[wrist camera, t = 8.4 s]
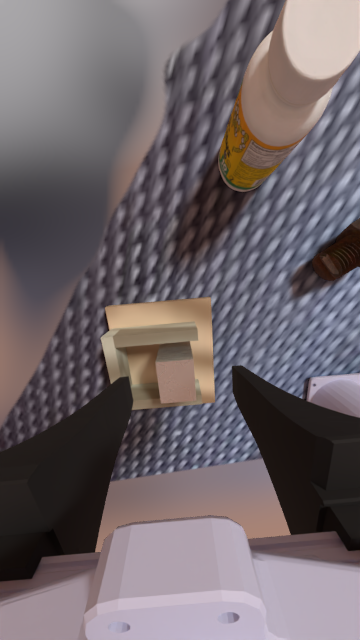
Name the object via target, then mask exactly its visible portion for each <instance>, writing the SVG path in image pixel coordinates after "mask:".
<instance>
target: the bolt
mask: <svg viewBox="0 0 360 640" xmlns="http://www.w3.org/2000/svg"><path fill="white" fill-rule="evenodd" d="M312 265H313V268H314V271H315V272H316V273H317V274H318V275H319V276H320V277H321V278H322V279H324V280H329V281H334V280H336V279H338V278H340V277H341V276H342V275H344V274H346V273H348V272H349V271H351V270H352V269H354V268H356V267H360V218H359V219H358V220H356V221H355V222H353V223H352V224H350V225H349V226H348V227H347V228H346V229H345V230H344V231H343V232H342V233H341V234H340V235H339V236H338V237H337V239H336V243H335V244H333V245H332V246H330V247H328V248H327V249H325V250H323V251H322V252H320V253H319V254H317V255H316V256H315V257H314V259H313V261H312Z"/></svg>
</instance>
